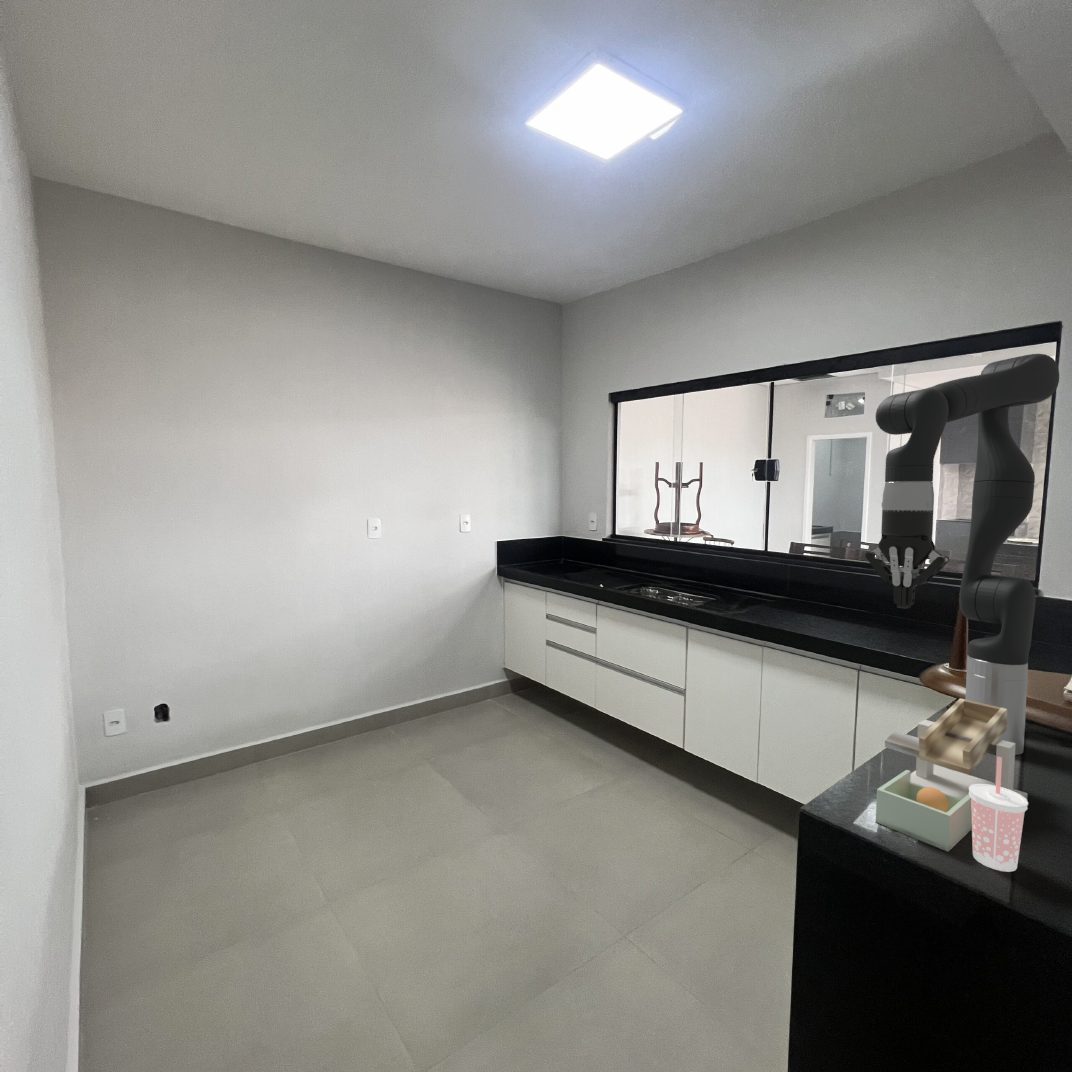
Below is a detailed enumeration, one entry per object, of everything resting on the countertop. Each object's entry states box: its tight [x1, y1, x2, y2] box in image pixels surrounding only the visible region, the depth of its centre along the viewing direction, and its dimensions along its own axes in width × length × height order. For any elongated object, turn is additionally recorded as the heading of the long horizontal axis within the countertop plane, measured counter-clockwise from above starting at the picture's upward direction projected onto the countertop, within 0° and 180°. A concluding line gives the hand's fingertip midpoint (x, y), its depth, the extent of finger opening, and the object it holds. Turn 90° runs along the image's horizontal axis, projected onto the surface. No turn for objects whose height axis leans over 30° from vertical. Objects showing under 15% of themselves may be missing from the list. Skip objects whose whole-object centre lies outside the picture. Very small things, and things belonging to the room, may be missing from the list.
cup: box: [875, 769, 972, 853], centre depth 86 cm, size 11×9×5 cm
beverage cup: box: [969, 757, 1029, 873], centre depth 77 cm, size 6×6×14 cm
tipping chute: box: [884, 698, 1007, 775], centre depth 96 cm, size 18×12×5 cm
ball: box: [916, 787, 949, 812], centre depth 87 cm, size 4×4×4 cm
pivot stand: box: [910, 719, 1028, 800], centre depth 95 cm, size 12×14×10 cm
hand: (903, 607), depth 102 cm, fingers closed
